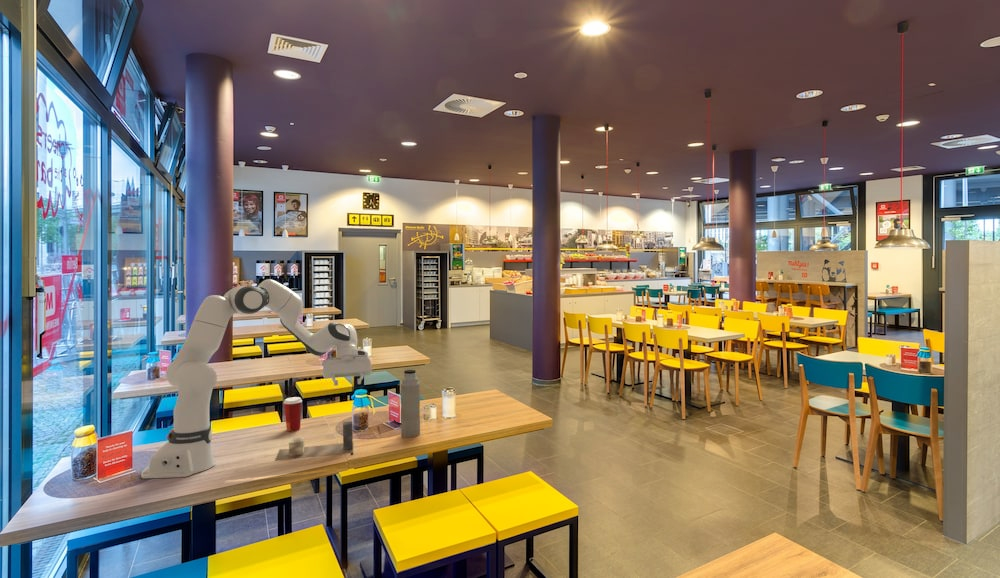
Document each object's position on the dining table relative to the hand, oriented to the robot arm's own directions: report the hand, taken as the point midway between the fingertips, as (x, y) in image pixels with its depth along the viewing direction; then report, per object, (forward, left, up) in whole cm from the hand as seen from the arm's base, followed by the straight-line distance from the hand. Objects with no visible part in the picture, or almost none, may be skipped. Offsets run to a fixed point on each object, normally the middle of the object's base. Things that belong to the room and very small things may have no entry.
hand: (347, 384), depth 211 cm
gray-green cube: (-19, -13, -23) cm, 32 cm away
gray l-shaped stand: (-12, -13, -23) cm, 30 cm away
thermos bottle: (+26, -1, -24) cm, 35 cm away
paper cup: (-24, +21, -24) cm, 40 cm away
